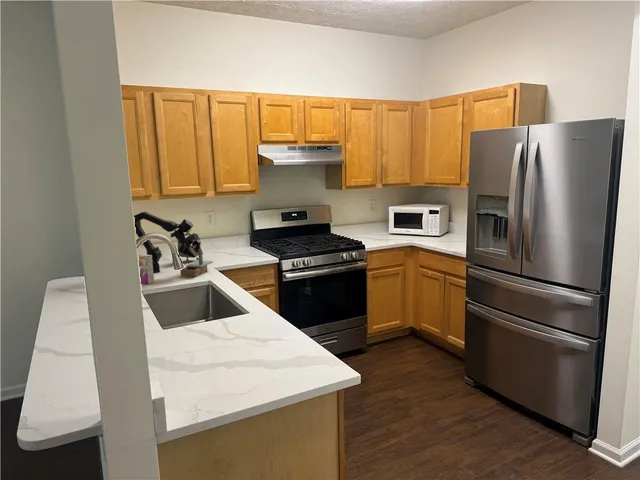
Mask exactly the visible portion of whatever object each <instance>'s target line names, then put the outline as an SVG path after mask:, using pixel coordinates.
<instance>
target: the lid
mask: <svg viewBox="0 0 640 480" xmlns="http://www.w3.org/2000/svg"><path fill="white" fill-rule="evenodd" d="M202 252H203V249H202V248H201V249H200V250H198V258H199V260H196V261H194V262H192V263H188V264H187V265H185V266H186V267H203V266H206V265H207V266H208V265H210V264H213V263H214V262H213V261H214V260H213V261H212V260H204V257H203V255H202Z"/></svg>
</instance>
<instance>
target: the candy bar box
mask: <svg viewBox="0 0 640 480" xmlns="http://www.w3.org/2000/svg"><path fill="white" fill-rule="evenodd" d="M137 254H138V256H139V267H140V277H141V283H143V285H152V284H155V276H154V275H155V273H153V261H152V255H147V254H144V253H143V254H142V253H137ZM141 283H140V284H141ZM151 283H152V284H151Z"/></svg>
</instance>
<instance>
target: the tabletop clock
mask: <svg viewBox="0 0 640 480" xmlns="http://www.w3.org/2000/svg"><path fill="white" fill-rule="evenodd" d="M191 231H192V229H190V230H189V231H188V232H187V233H186V232H185V233H184V234H185V235H186V236H187V235H189V236H190V235H192V234H193V233H191ZM195 240H200V241H201V239H200V237H199V236H198V238H197V239H194V241H195ZM194 241H193V242H194ZM178 242H179V241H178V240H177V249H178V248H179V247H180V246H181V245H182V244H181V243H180V244H179V243H178ZM193 242H192V243H193ZM200 248H201V246H200ZM201 249H202V248H201ZM190 250H191V252H192V253H193V254H194V256H195V258H196V261H199V255H198V252H196V251H194V250H193V248H191V247H190ZM177 253H179V252H178V251H177ZM179 255H180V256H179ZM178 256H179V257H181V258H186V260H185V261H186V263H187V264H190V260H189V259H190V258H193V257H190V256H188V255H185V254H182V253H179V254H178Z"/></svg>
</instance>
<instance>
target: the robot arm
mask: <svg viewBox="0 0 640 480" xmlns="http://www.w3.org/2000/svg"><path fill="white" fill-rule="evenodd" d="M134 217H135V227H136V233H135V234H136V237H138V238H139V237H141V236H143V235H145V234H146V232H145V231H144V229H143V227H142V224H141V221H142V220H145V221H148V222H150V223H152V224H155V225H157V226H160V227H161V228H162V229H163V230H164V231H166V232H168V233H170V232H171V233H170V238H175V239H176V240H177V244H178V243H179V244H180V243H181V244H182V245H181V246H180V247H179V248H178V247H177V253H178V252H179V253H182V254H185V255H188V256H190V257H192V258H193V259H195V258H196V257H195V256H194V254H193V253H192V252H191V250H190V247H191V248H193V250H194V251H196V252H198V250H200V249H202V248H200V247H201V244H202V241H201V239H200V240H195V241H194V239H197V238H198V237H199V234H198V233H197V232H193V233H191V234H192V235H190V236H189V235H187V236H186V235H185V234H186V233H187V232H188V231H190V230H192V228H193V227H194V224H193V223H192V221H189V220H187V219H186V218H184V219H183V220H182V221H181V222H180V223H176V222H175V221H172V220H168V219H164V218H161V217H158V216H156V215H154V214H151V213H149V212H147V211H141V212H140V213H137V214H134ZM178 241H179V242H178ZM193 241H194V242H193ZM192 242H193V243H192ZM142 245H143V247H144V248H145V250H146V255H152V261H153V273H154V274H156V273H161V268H160V267H161V266H160V264H159V263H160V260H161V258H162V256H163V254H162V250H160V247H159V246H157V247H155V246H154V245H153V243H152V241H151V240H150V239H149V240H147V241H146V242H144V243H143V244H142ZM203 255H204V253H203V251H202V256H203Z"/></svg>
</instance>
